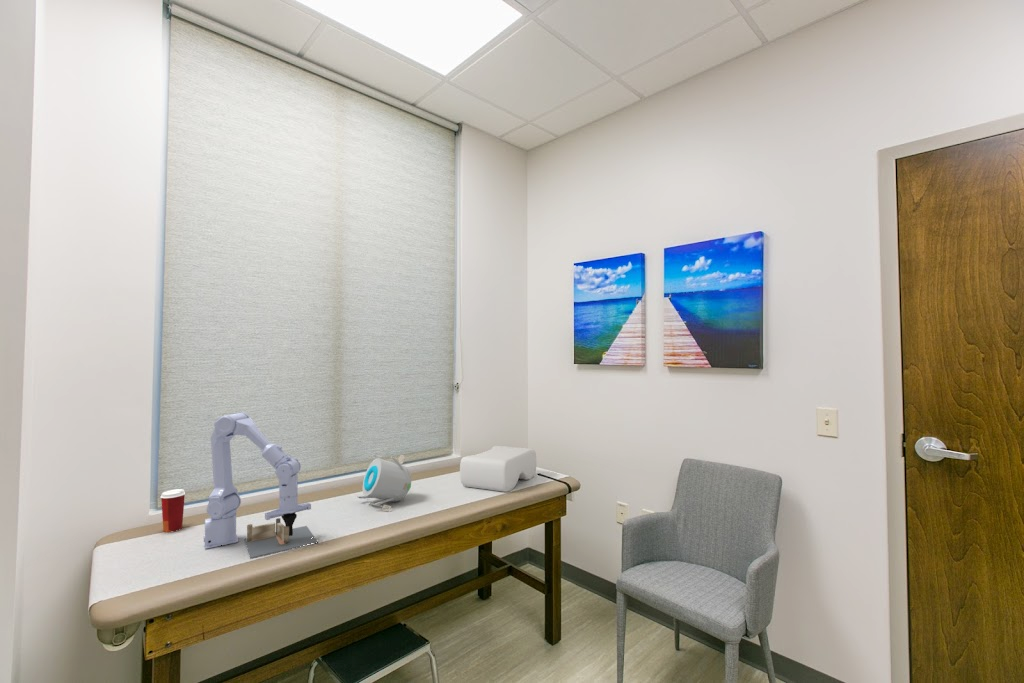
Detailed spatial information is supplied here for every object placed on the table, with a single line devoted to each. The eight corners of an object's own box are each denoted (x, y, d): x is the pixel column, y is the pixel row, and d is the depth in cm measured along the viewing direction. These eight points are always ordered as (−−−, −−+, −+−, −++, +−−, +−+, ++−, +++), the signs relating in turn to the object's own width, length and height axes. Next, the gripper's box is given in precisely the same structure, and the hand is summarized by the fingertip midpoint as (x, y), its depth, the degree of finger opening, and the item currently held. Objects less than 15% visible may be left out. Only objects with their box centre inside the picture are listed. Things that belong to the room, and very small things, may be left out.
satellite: (428, 462, 199) (404, 457, 219) (387, 450, 189) (365, 446, 208) (411, 516, 192) (388, 506, 211) (368, 507, 181) (347, 497, 201)
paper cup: (189, 525, 175) (189, 488, 176) (178, 532, 168) (178, 493, 168) (166, 526, 174) (167, 489, 175) (154, 534, 167) (155, 495, 167)
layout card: (250, 558, 144) (250, 557, 144) (244, 539, 160) (244, 538, 160) (318, 543, 156) (318, 541, 156) (306, 526, 171) (306, 525, 171)
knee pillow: (505, 494, 207) (504, 461, 208) (459, 488, 219) (458, 457, 219) (537, 476, 239) (536, 447, 239) (495, 471, 250) (494, 444, 251)
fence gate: (275, 533, 163) (275, 519, 163) (280, 532, 164) (280, 517, 164) (284, 543, 154) (284, 527, 154) (289, 541, 155) (289, 526, 155)
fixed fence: (247, 542, 156) (247, 526, 157) (246, 540, 158) (246, 524, 158) (275, 536, 161) (275, 520, 161) (274, 534, 163) (274, 519, 163)
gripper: (269, 502, 150) (270, 545, 150) (314, 492, 160) (314, 532, 160) (262, 498, 155) (263, 539, 155) (306, 489, 165) (306, 527, 165)
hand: (288, 535), depth 158 cm, fingers closed, pressing on fence gate
